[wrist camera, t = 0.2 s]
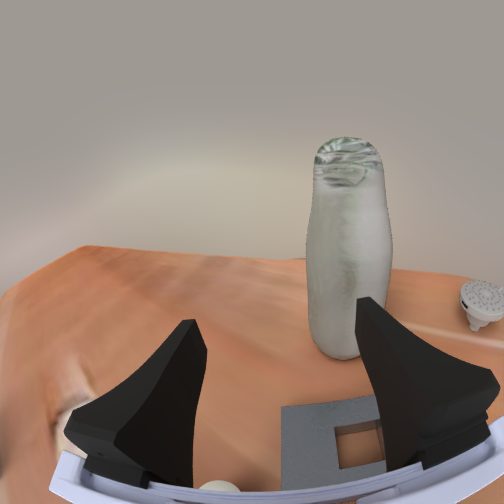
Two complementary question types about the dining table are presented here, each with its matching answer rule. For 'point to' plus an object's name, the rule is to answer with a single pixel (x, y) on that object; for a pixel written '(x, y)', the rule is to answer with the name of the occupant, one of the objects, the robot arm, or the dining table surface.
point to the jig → (325, 442)
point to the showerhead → (482, 303)
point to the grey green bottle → (346, 242)
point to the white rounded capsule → (220, 486)
